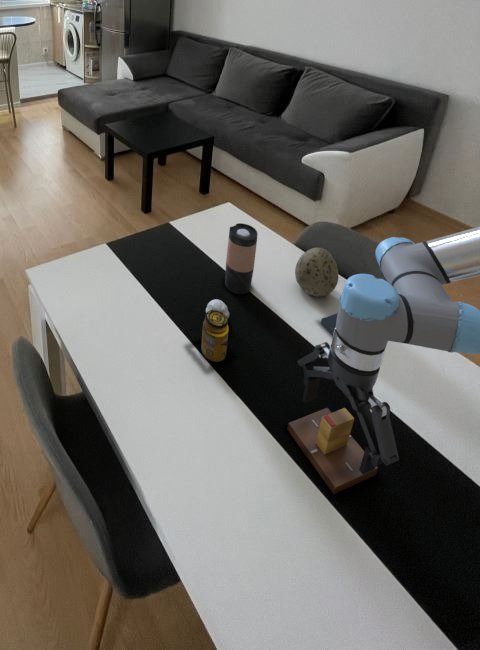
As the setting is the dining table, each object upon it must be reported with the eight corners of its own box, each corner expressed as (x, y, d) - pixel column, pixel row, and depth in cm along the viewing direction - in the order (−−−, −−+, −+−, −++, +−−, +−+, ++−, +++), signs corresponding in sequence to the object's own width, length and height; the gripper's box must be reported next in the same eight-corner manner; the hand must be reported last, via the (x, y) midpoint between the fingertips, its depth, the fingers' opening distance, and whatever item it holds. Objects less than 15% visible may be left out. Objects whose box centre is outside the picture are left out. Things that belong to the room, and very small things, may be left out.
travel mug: (251, 298, 123) (258, 241, 115) (223, 292, 125) (228, 237, 118) (250, 279, 129) (257, 225, 122) (224, 274, 132) (229, 221, 124)
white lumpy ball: (204, 329, 114) (206, 310, 111) (205, 309, 120) (206, 290, 117) (228, 334, 112) (230, 314, 110) (227, 313, 118) (229, 294, 116)
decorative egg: (343, 300, 120) (353, 258, 115) (310, 309, 118) (319, 266, 112) (314, 274, 130) (322, 234, 124) (284, 282, 128) (290, 241, 122)
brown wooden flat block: (375, 475, 81) (378, 467, 80) (333, 495, 79) (335, 486, 78) (325, 415, 92) (327, 406, 91) (286, 430, 90) (288, 422, 89)
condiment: (233, 358, 106) (237, 322, 101) (206, 372, 103) (209, 336, 98) (213, 336, 112) (216, 301, 107) (187, 349, 109) (189, 313, 104)
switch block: (378, 347, 106) (381, 335, 105) (352, 356, 104) (355, 344, 103) (344, 316, 115) (347, 305, 114) (320, 324, 113) (322, 313, 112)
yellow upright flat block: (337, 433, 86) (345, 406, 83) (347, 445, 84) (354, 417, 81) (315, 443, 85) (322, 415, 82) (324, 454, 83) (331, 427, 80)
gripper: (286, 307, 85) (275, 380, 93) (407, 432, 63) (379, 514, 71) (317, 297, 87) (303, 370, 95) (445, 415, 65) (413, 497, 73)
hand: (335, 432), depth 83 cm, fingers open, 13 cm apart
